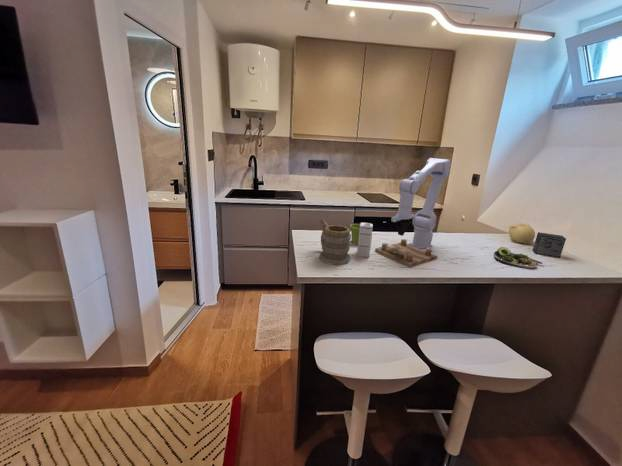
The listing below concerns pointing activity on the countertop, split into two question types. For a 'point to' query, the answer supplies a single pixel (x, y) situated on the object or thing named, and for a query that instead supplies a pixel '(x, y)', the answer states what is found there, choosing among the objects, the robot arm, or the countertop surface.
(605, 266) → the countertop surface
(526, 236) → the pale yellow rounded lump
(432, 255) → the brown wooden flat board
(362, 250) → the syrup box
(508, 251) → the salad plate
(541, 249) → the small box
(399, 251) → the long beige beam
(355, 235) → the plant pot
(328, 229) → the tankard
